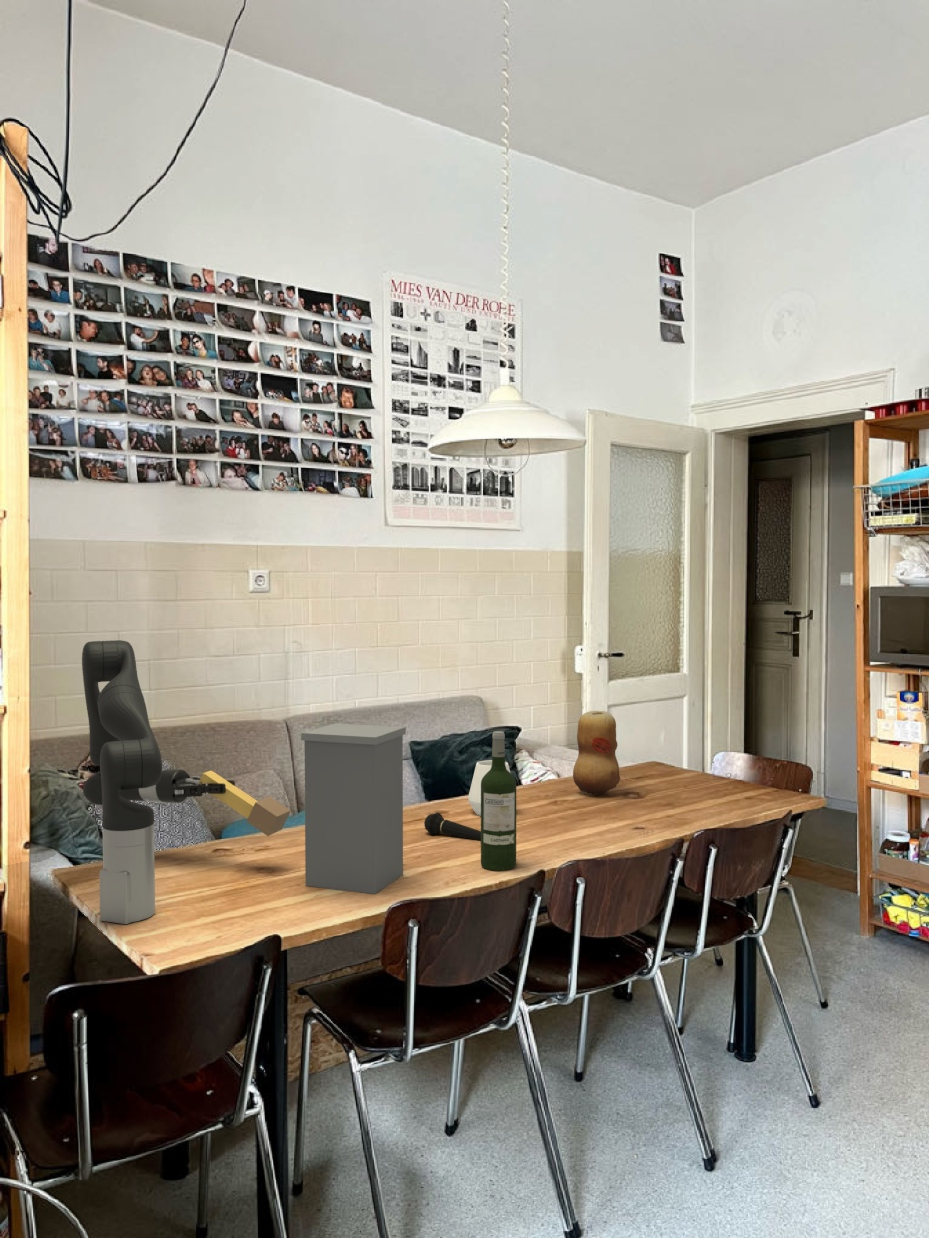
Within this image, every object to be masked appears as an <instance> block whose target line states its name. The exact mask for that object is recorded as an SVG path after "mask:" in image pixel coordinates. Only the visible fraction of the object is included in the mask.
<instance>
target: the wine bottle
mask: <svg viewBox="0 0 929 1238" xmlns="http://www.w3.org/2000/svg"><path fill="white" fill-rule="evenodd" d="M505 738H506V735H505V732H504V731H503V730H502V731H501V730H499V731H498V730H495V731H493V732H492V749H491V750H492V752H491V753H492V754H491V760H492V766H491V769H490V770H489V771H488V772H487V773H486V774H485V776H484V777H483V778H482V780H481V816H480V831H481V841H480V865H481V867H482V869H485V870H488V871H493V872H505V871H506V872H507V871H510V870H513V869H514V868H516V865H517V781H516V779H515V776H514V775H513V774H512V773H511V771H510V772H509V771H508V770H507V769H506V766H505V762H506V751H505V750H506V749H505V747H506V745H505V743H506V742H505Z"/></svg>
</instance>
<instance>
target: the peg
mask: <svg viewBox="0 0 929 1238" xmlns="http://www.w3.org/2000/svg"><path fill="white" fill-rule="evenodd" d="M200 777H201V779H200V781H202V783H209V784H210V783H224V784H225V785H226V792H225V793H224V794H211V795H212V796H213V797H215V798H216V799H217V800H220V801H221V802H222V803H224V804H225V805H227V806H228V807H230V808H231V809H233V810H234V811H235V812H237V813H238V814H240V815H241V816H243V817H244V818H245V819H247V820H246V823H248V824H249V825H250V826H252V827H253V828H255V829H257V830H258V831H260V832H261V833H262V834H264V835H265V836H267V837H269V836H271V835H273V834H276V833H278V832H280V831H282V830H283V828H284V826H285V824H286V821H287V819H288V817H290V816H289V815H290V814H291V811H292V810H291V809H289V808H288V807H287V806H285V805H283V804H281V802H279V801H278V800H276V799H274V798H273V797H271V796H268V797H265V798H263V799H260V800H256V799H255V798H254V797H252V796H251V795H249V794H248V793H246V792H245V791H243V790H241V788H238V786H236V785H235V786H234V785H232V784H231V783H229V782H228V781H227V780H228V779H225V778H224V777H223V776H221V775H220V774H217V773H216V772H214V771H213V770H208V771H205V772H203V773H202V774H201V776H200ZM222 777H223V778H222Z"/></svg>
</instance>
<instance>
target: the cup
mask: <svg viewBox="0 0 929 1238" xmlns="http://www.w3.org/2000/svg"><path fill="white" fill-rule="evenodd" d="M491 766H492V759H489V760H488V759H487V760H486V759H485V760H480V761H477V762H476V764H475V768H474V771H473V772H474V773H473V777H472V781H471V785H470V789H469V793H468V798H467V800H468V803H469V805H470V806H471V807H472V810H473V811H474V813H475V815H477V816H480V817H481V780H482V778H483V777H484V776H485V774H486V773H487V772H488V771H489V770H490V769H491ZM505 766H506V769H507V770H508V771H509V772H510V773H511V770H510V766H509V763H508V762H507V761H505Z"/></svg>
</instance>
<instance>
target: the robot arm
mask: <svg viewBox="0 0 929 1238" xmlns="http://www.w3.org/2000/svg"><path fill="white" fill-rule="evenodd" d="M81 667H82V668H81V670H82V680H83V687H84V688H83V689H84V697H85V698H84V699H85V703H86V705H85V706H86V710H87V717H88V727H89V728H88V729H89V759H90V761H91V763H92V764H93V765H95V766H97V767H99V771H97V772H96V773H95V774H92V776H90V777H89V778H87V779H86V781H85V782H84V783H83V786H82V793H83V796H84V797H85V799H86V800H87V801H88V802H90V803H92V804H94V805H98V806H102V817H101V818H102V820H101V821H102V822H101V823H102V825H101V826H102V869H99V874H98V875H99V877H98V878H99V916H100V917H99V920H100V921H102V922H107V923H115V924H121V925H122V924H123V925H128V924H130V923H134V922H139V921H143V920H146V919H149V918H150V917H153V915H155V913H156V882H155V881H156V880H155V879H156V878H155V877H156V876H155V875H156V874H155V872H156V871H155V812H154V810H153V808H152V807H151V806H149V805H145V804H142V803H137V802H150V803H169V804H170V803H173V804H180V803H183V802H185V801H186V800H187V798H195V797H198V798H199V797H202V796H203V795H204V796H208V795H212V794H224V793H225V792H226V785H225V784H224V783H210V784H209V783H202V781H200V779H201V777H202V776H200V775H197V776H196V775H194V776H193V775H192V776H190V775H189V773H188V772H187V771H186V770H185V769H172V768H169V769H168V768H165V769H164V768H163V761H162V760H163V759H162V753H161V749H160V746H159V744H158V742H157V740H156V737H155V735H154V732H153V731H152V728H151V724H150V720H149V715H148V710H147V706H146V701H145V698H144V695H143V692H142V689H141V686H140V681H139V677H138V676H139V675H138V671H137V669H138V668H137V662H136V655H135V651H134V648H133V645H132V644H131V643H130V642H129V641H126V640H122V639H121V640H116V639H115V640H92V641H88V642H86V643H85V644H84V646H83V648H82V653H81ZM102 682H103V683H104V682H105V683H106V682H108V683H106V685H105V686H104V687H103V688H102V689H101V691H100V688H99V683H102ZM221 777H222V778H224V777H223V776H221ZM226 780H227V781H228V782H229V783H231V784H232V785H234V786H236V782H235V780H233V779H226ZM135 801H136V802H135Z"/></svg>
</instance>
